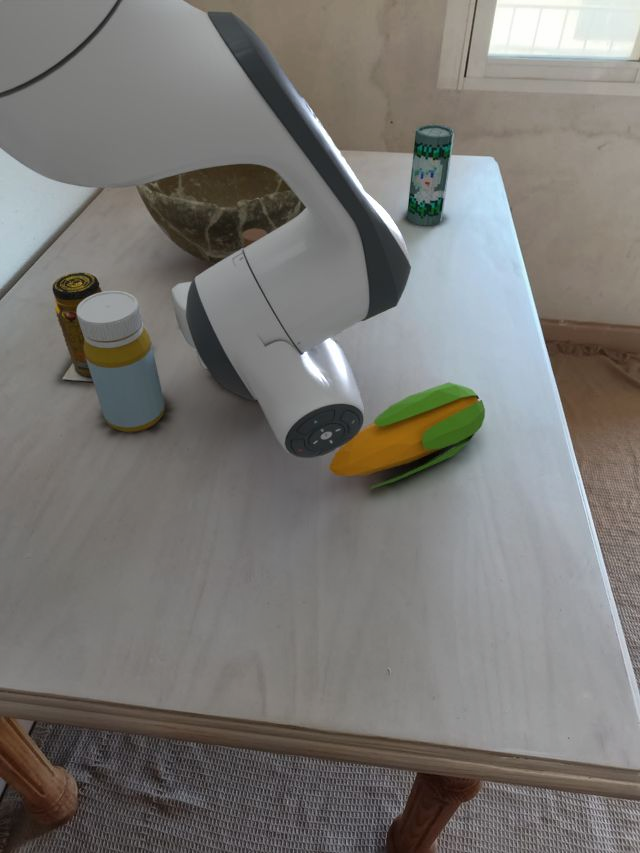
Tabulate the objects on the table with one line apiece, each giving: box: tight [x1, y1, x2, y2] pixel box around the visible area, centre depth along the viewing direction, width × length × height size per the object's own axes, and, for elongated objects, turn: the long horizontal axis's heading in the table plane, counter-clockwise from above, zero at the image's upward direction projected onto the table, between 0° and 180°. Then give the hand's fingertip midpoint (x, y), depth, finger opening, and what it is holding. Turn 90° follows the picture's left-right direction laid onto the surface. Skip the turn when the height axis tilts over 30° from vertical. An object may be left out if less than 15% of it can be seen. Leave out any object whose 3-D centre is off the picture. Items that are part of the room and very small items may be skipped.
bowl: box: [136, 164, 306, 265], centre depth 97 cm, size 28×27×15 cm
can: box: [406, 123, 455, 227], centre depth 108 cm, size 6×6×15 cm
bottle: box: [76, 290, 166, 433], centre depth 69 cm, size 7×7×15 cm
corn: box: [328, 382, 486, 490], centre depth 67 cm, size 7×8×20 cm
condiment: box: [52, 272, 103, 382], centre depth 77 cm, size 7×8×12 cm
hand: (255, 264), depth 73 cm, fingers closed on lid, 3 cm apart
